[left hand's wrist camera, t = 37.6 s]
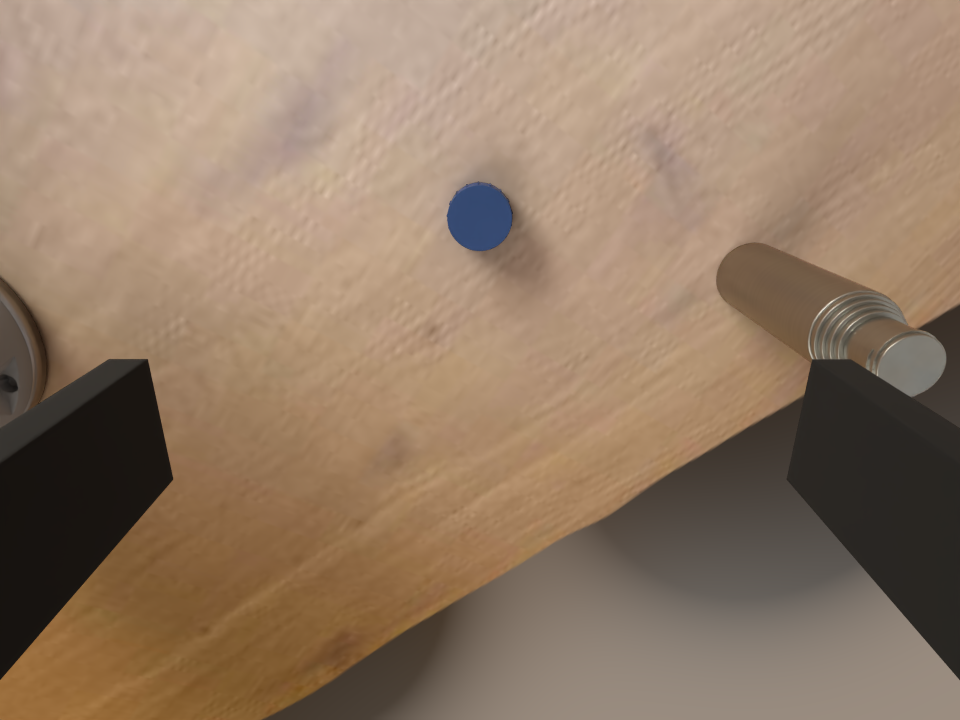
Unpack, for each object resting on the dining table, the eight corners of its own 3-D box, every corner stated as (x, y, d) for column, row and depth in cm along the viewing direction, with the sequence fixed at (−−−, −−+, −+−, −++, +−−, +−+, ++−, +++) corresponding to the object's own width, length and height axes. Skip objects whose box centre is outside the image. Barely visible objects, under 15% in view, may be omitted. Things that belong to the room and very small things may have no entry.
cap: (460, 254, 41) (459, 260, 39) (438, 193, 40) (437, 197, 38) (519, 234, 41) (520, 240, 39) (500, 172, 39) (501, 174, 37)
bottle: (711, 253, 41) (854, 332, 25) (779, 234, 41) (967, 303, 25) (720, 314, 43) (860, 425, 27) (785, 297, 42) (966, 400, 27)
